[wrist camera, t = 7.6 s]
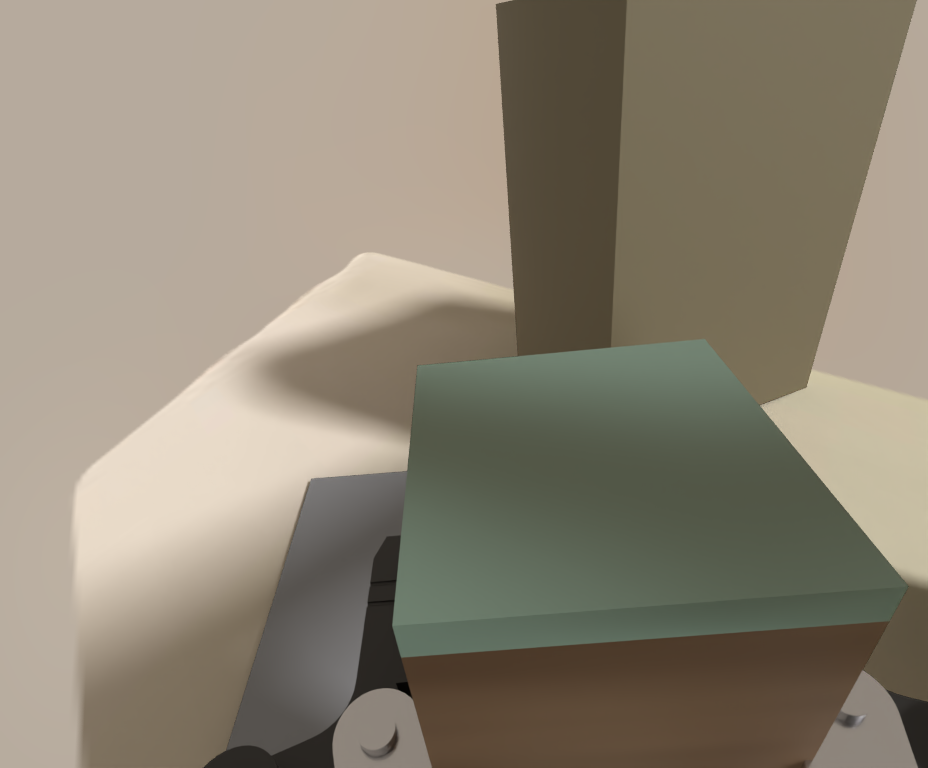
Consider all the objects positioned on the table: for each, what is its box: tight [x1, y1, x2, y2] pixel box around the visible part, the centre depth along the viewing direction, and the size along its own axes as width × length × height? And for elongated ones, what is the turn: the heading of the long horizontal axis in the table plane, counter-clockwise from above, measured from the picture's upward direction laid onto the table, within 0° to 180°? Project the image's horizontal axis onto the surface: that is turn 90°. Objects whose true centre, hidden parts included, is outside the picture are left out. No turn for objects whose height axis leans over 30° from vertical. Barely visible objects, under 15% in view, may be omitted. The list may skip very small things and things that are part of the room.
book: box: [496, 0, 917, 405], centre depth 35 cm, size 22×9×28 cm, turn 119°
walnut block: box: [392, 339, 909, 768], centre depth 10 cm, size 4×4×11 cm
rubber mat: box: [226, 471, 407, 756], centre depth 30 cm, size 20×12×1 cm, turn 1°
